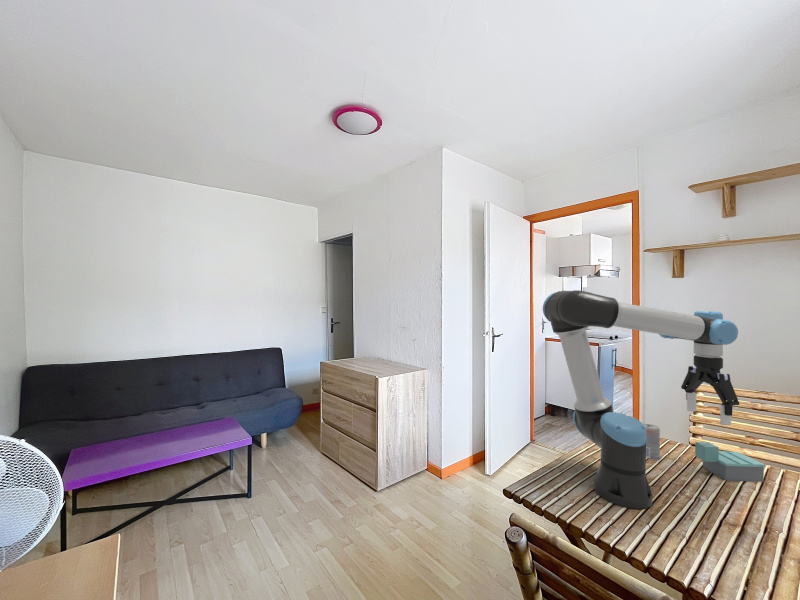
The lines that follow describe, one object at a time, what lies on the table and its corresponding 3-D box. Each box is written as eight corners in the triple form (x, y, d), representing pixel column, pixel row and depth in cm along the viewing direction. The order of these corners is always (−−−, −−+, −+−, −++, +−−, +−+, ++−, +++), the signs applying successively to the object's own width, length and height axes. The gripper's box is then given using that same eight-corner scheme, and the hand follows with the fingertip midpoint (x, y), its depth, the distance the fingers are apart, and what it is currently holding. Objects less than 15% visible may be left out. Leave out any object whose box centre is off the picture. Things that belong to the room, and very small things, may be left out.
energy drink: (653, 454, 132) (654, 424, 132) (662, 461, 127) (663, 429, 127) (639, 454, 132) (639, 423, 132) (647, 460, 127) (647, 428, 127)
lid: (711, 467, 112) (712, 450, 112) (689, 454, 122) (689, 438, 122) (765, 468, 112) (765, 451, 112) (737, 455, 121) (738, 440, 121)
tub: (725, 482, 112) (725, 465, 112) (702, 468, 121) (702, 453, 121) (763, 483, 112) (763, 466, 112) (737, 469, 121) (737, 454, 121)
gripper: (755, 362, 104) (755, 431, 104) (690, 350, 129) (689, 406, 129) (730, 362, 105) (729, 431, 105) (669, 350, 130) (669, 405, 130)
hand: (707, 417), depth 117 cm, fingers open, 13 cm apart
